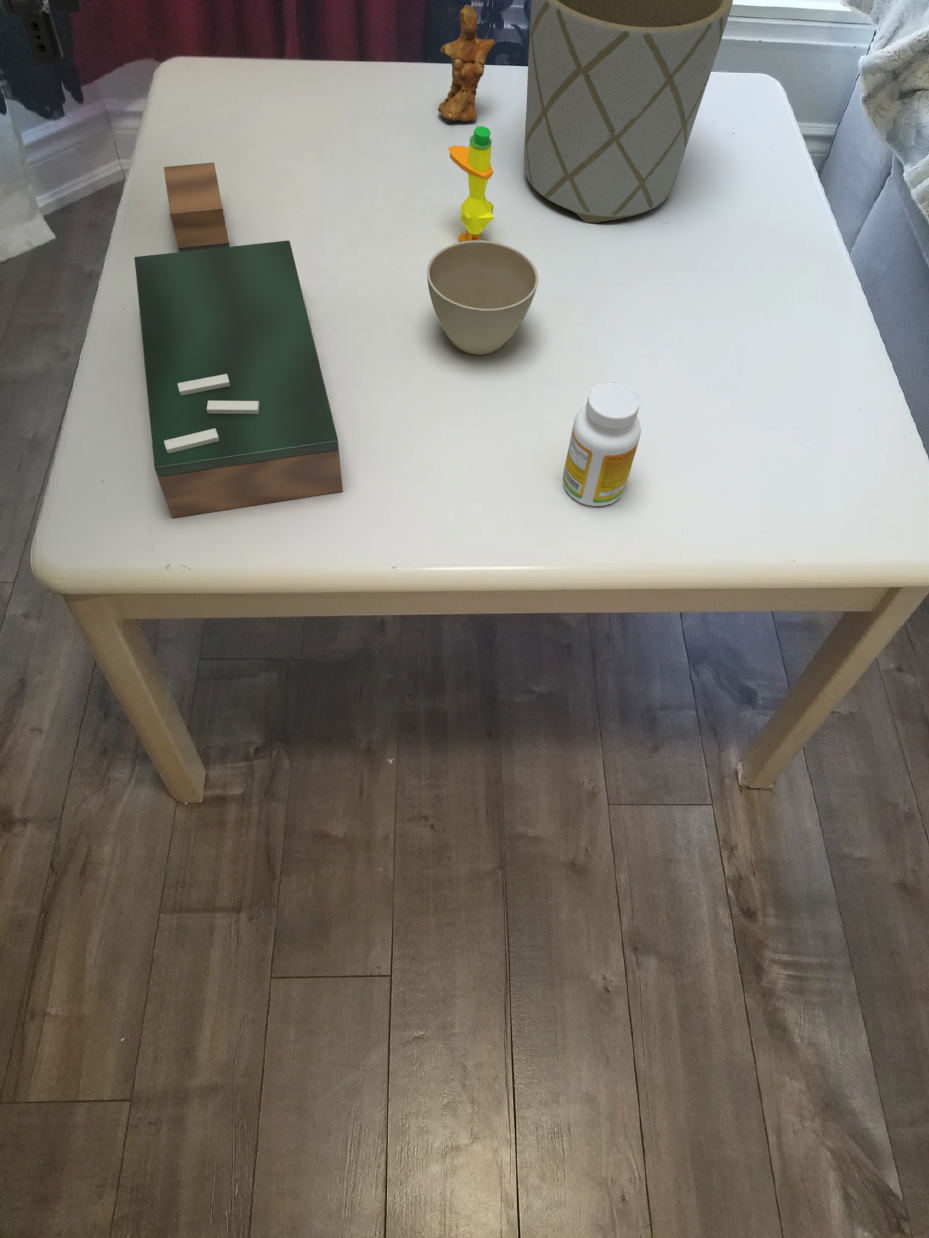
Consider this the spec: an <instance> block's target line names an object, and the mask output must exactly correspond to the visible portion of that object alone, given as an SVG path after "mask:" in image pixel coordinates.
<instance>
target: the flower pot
mask: <svg viewBox="0 0 929 1238" xmlns="http://www.w3.org/2000/svg"><path fill="white" fill-rule="evenodd" d="M426 279H427V289H428V292H429V296H430V300H431V304H432V307H433V309H434V312H435V315H436V317H437V320H438V322H439V324H440V326H441V328H442V329H443V331H444V333H445V335H446V336H447V337H448V338H449V340H450V341H451V342H452V344H453V345H454V346H455V347H456V348H457V349H459V351H462V352H464V353H465V354H466V353H467V354H470V355H475V356H478V355H479V356H482V355H488V354H491V353H494V352H495V351H497V350H499V349H500V348H501V347H502V346H503V345H504V344H505V343H506V342H507V341H508V340H509V339H511V337H512V336H513V335H514V333H515V332H516V330H518V328H519V327H520V325H521V323H523V320H524V319H525V318H526V316H527V314H528V311H529V309H530V307H531V305H532V303H533V302H532V301H533V300H534V297H535V294H536V292H537V288H538V285H539V274H538V271H537V268H536V266H535V265H534V263H533V261H532V260H530V258H529V257H528V256H527V255H525V254H524V253H522V252H521V251H520V250H518V249H516V248H514V247H513V246H510V245H508V244H505V243H501V242H496V241H493V240H484V239H483V240H482V239H481V240H471V241H463V242H461V241H459V242H456V243H452V244H449V245H447V246H445V247H443V248H441V249H440V250H438V251H437V252H436V253H435V254H434V255H433V256H432V257H431V259H430V260H429V262H428V264H427V267H426Z"/></svg>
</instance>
